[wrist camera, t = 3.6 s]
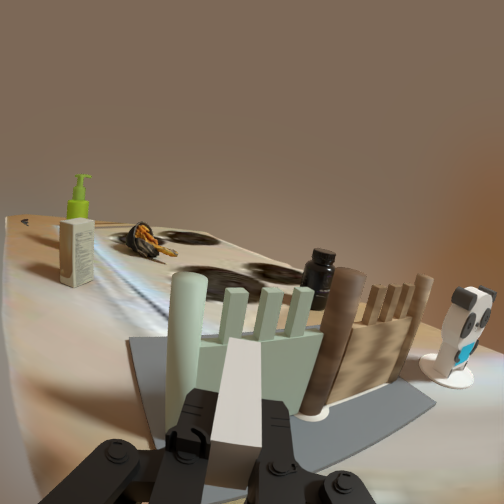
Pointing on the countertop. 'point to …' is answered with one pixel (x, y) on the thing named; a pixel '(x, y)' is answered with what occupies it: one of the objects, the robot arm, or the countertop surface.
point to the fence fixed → (363, 337)
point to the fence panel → (233, 314)
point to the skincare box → (76, 251)
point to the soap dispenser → (78, 200)
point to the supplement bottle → (319, 276)
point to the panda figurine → (459, 337)
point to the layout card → (302, 426)
